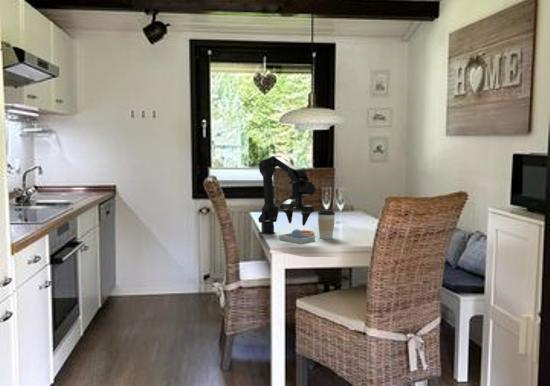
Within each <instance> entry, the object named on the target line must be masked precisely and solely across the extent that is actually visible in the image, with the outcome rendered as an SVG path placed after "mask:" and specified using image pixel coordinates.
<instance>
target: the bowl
mask: <svg viewBox="0 0 550 386" xmlns="http://www.w3.org/2000/svg"><path fill="white" fill-rule="evenodd" d="M299 230H300V231H301V232H302V234H303V235H309V236H315V231H314V230H306V229H304V230H301V229H299Z"/></svg>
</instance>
